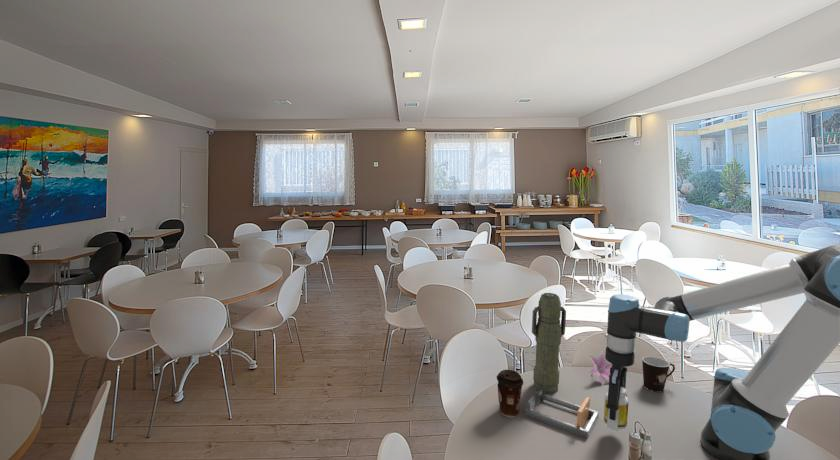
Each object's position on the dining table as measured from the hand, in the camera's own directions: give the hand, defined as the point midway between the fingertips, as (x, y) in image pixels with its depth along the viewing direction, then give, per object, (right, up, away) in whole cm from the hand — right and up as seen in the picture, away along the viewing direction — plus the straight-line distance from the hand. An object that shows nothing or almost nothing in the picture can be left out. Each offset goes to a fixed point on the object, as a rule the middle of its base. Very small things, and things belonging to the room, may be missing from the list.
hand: (614, 422), depth 115 cm
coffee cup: (-29, -3, +12) cm, 31 cm away
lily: (+11, 0, +33) cm, 35 cm away
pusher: (-12, -3, +9) cm, 15 cm away
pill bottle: (0, -1, 0) cm, 1 cm away
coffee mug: (+30, -1, +28) cm, 41 cm away
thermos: (-12, -1, +28) cm, 30 cm away
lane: (-12, -3, +10) cm, 16 cm away
